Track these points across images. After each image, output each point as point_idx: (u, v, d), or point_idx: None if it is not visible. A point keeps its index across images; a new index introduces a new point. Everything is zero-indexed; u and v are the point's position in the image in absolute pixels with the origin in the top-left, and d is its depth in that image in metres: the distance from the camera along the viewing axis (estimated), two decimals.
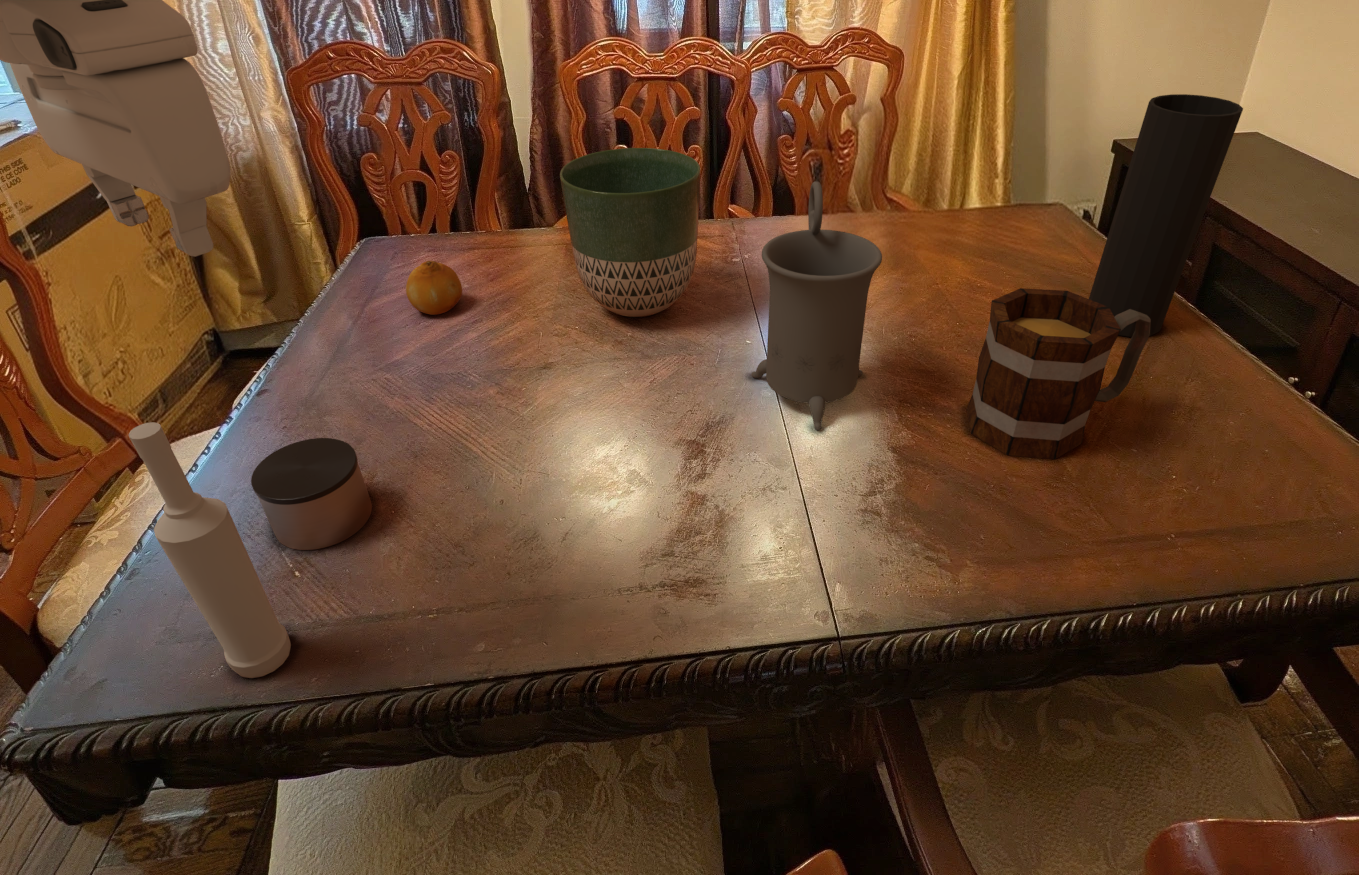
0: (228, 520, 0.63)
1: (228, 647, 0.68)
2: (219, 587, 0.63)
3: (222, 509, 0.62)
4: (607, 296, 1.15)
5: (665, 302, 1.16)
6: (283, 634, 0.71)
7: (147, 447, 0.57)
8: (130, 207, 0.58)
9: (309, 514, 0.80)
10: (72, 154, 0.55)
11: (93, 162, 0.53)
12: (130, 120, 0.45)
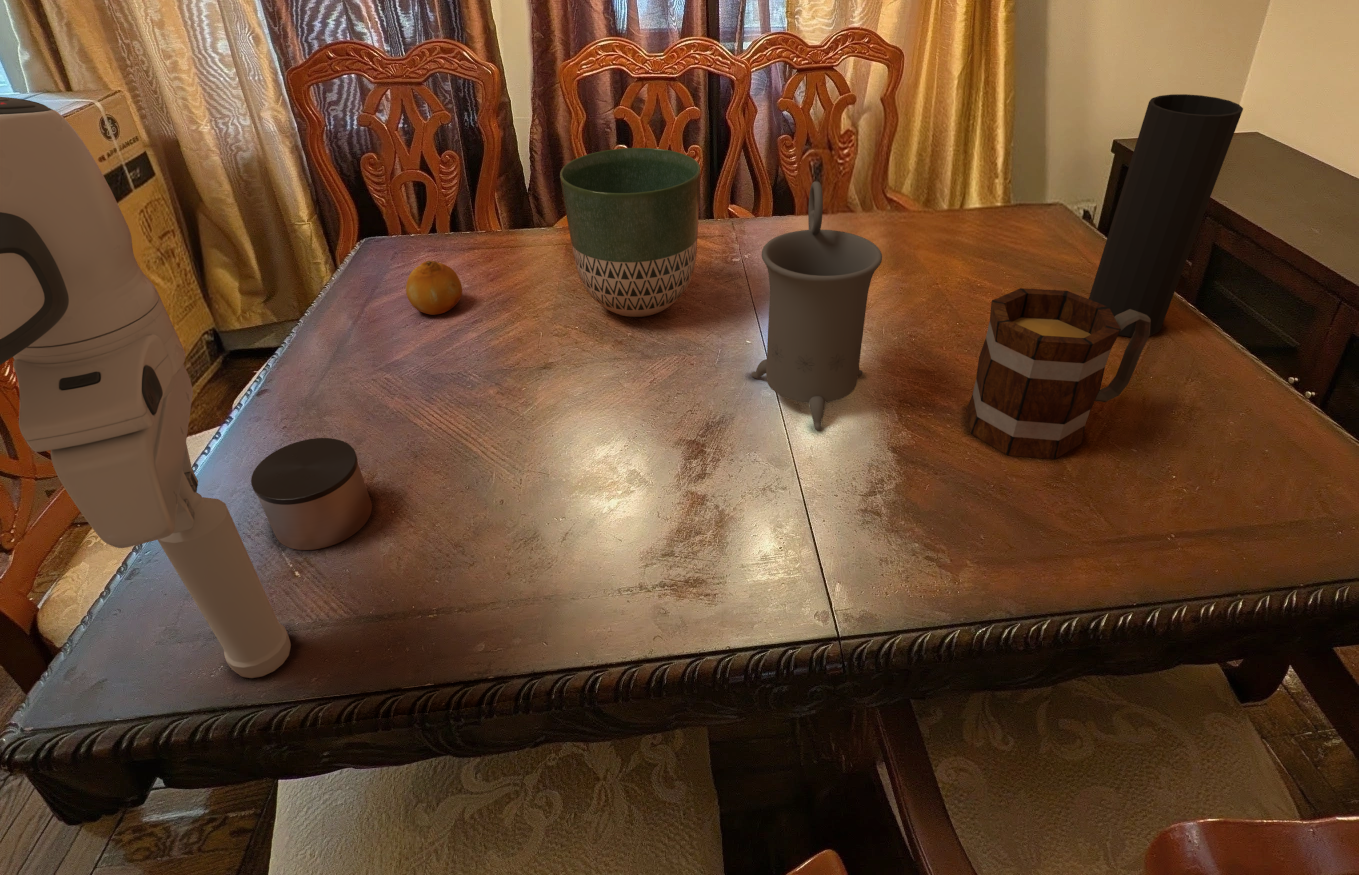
0: (228, 520, 0.63)
1: (228, 647, 0.68)
2: (219, 587, 0.63)
3: (222, 509, 0.62)
4: (607, 296, 1.15)
5: (665, 302, 1.16)
6: (283, 634, 0.71)
7: None
8: None
9: (309, 514, 0.80)
10: None
11: None
12: (67, 491, 0.48)
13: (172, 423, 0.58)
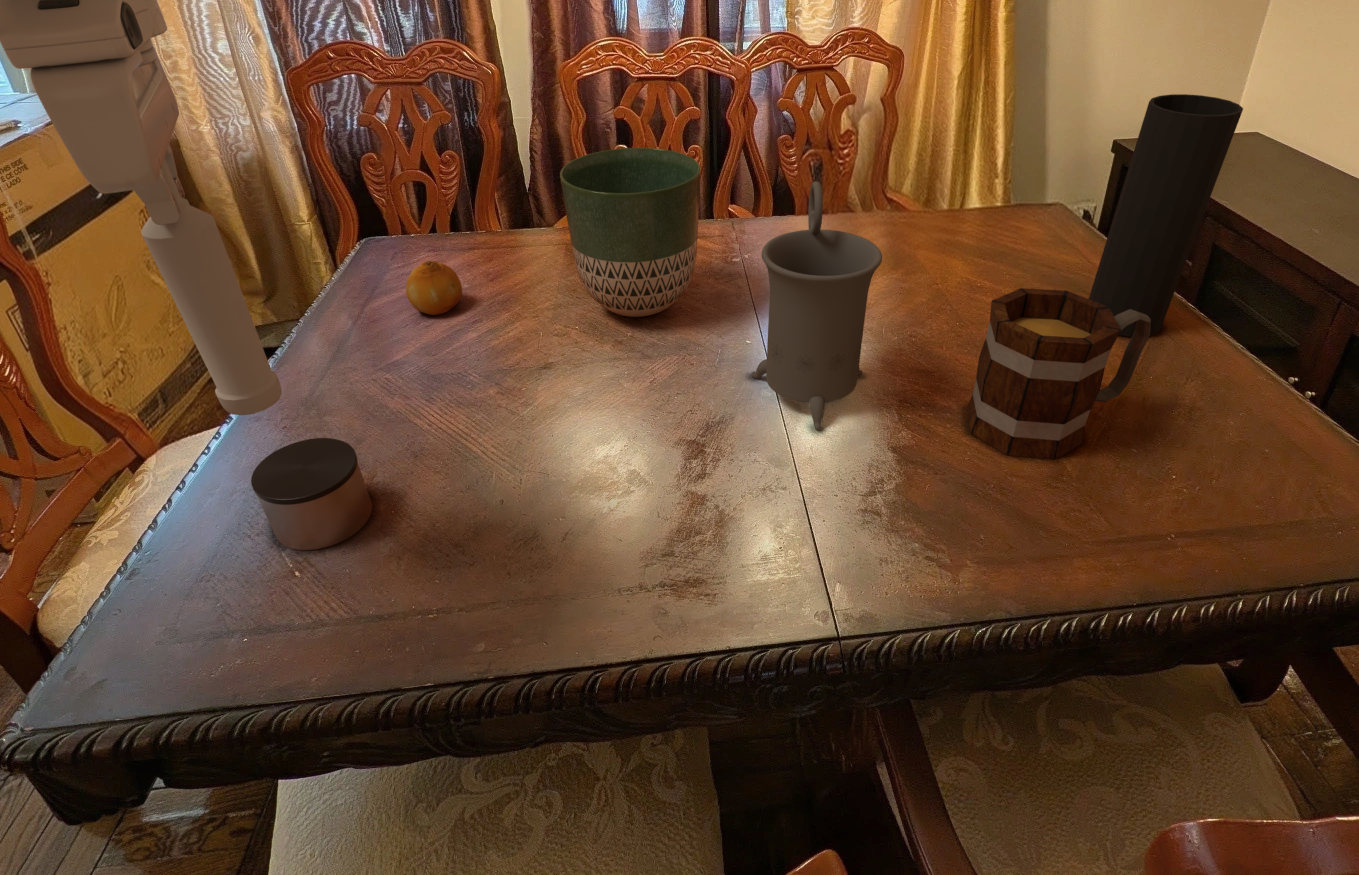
0: (215, 229, 0.63)
1: (218, 375, 0.68)
2: (207, 299, 0.64)
3: (209, 217, 0.63)
4: (607, 296, 1.15)
5: (665, 302, 1.16)
6: (273, 376, 0.71)
7: None
8: None
9: (309, 514, 0.80)
10: None
11: None
12: (47, 113, 0.48)
13: (156, 107, 0.58)
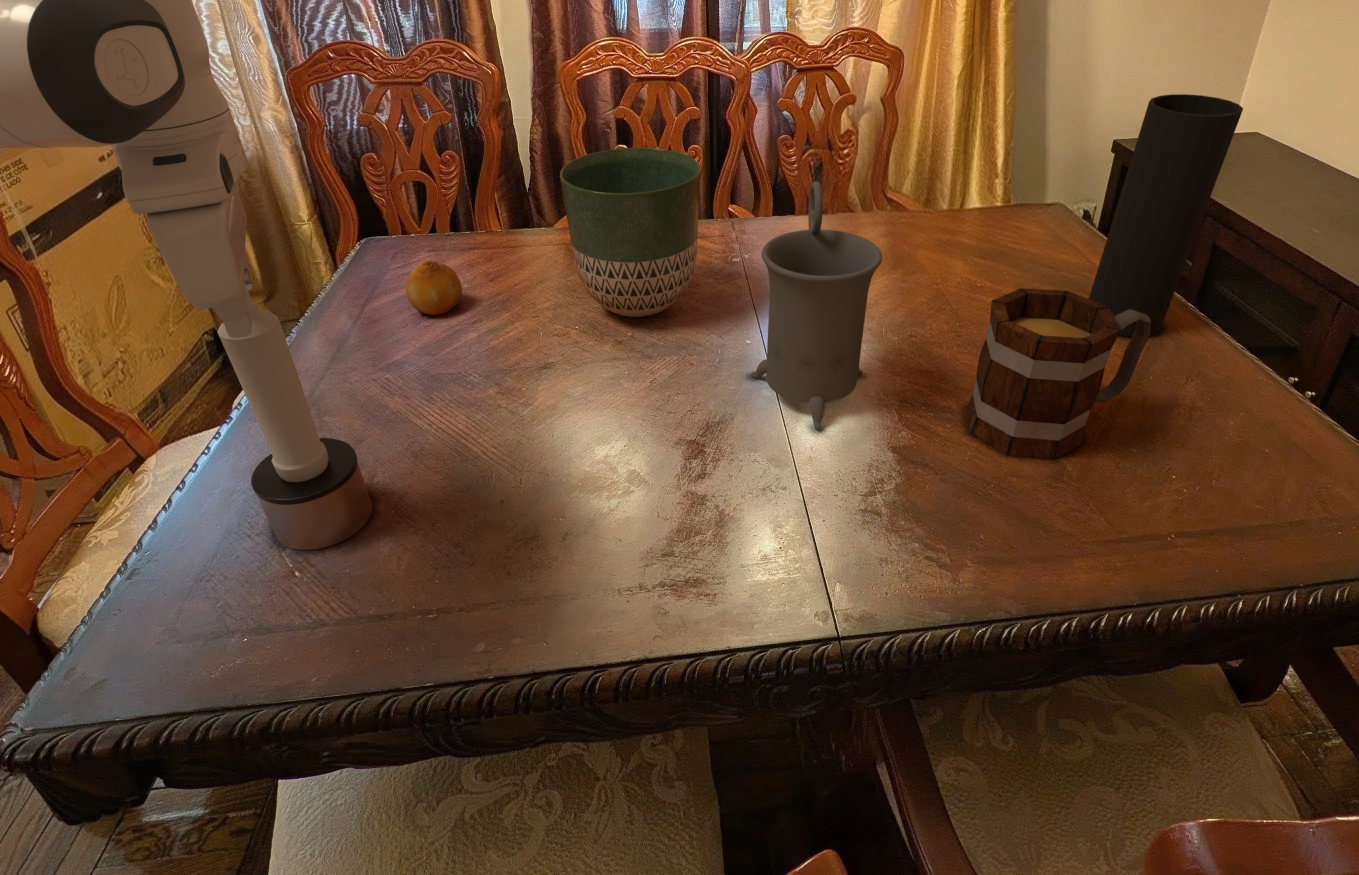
0: (280, 328, 0.73)
1: (277, 449, 0.78)
2: (271, 388, 0.74)
3: (274, 318, 0.73)
4: (607, 296, 1.15)
5: (665, 302, 1.16)
6: (322, 447, 0.82)
7: None
8: None
9: (309, 514, 0.80)
10: None
11: None
12: (159, 249, 0.58)
13: (235, 226, 0.68)
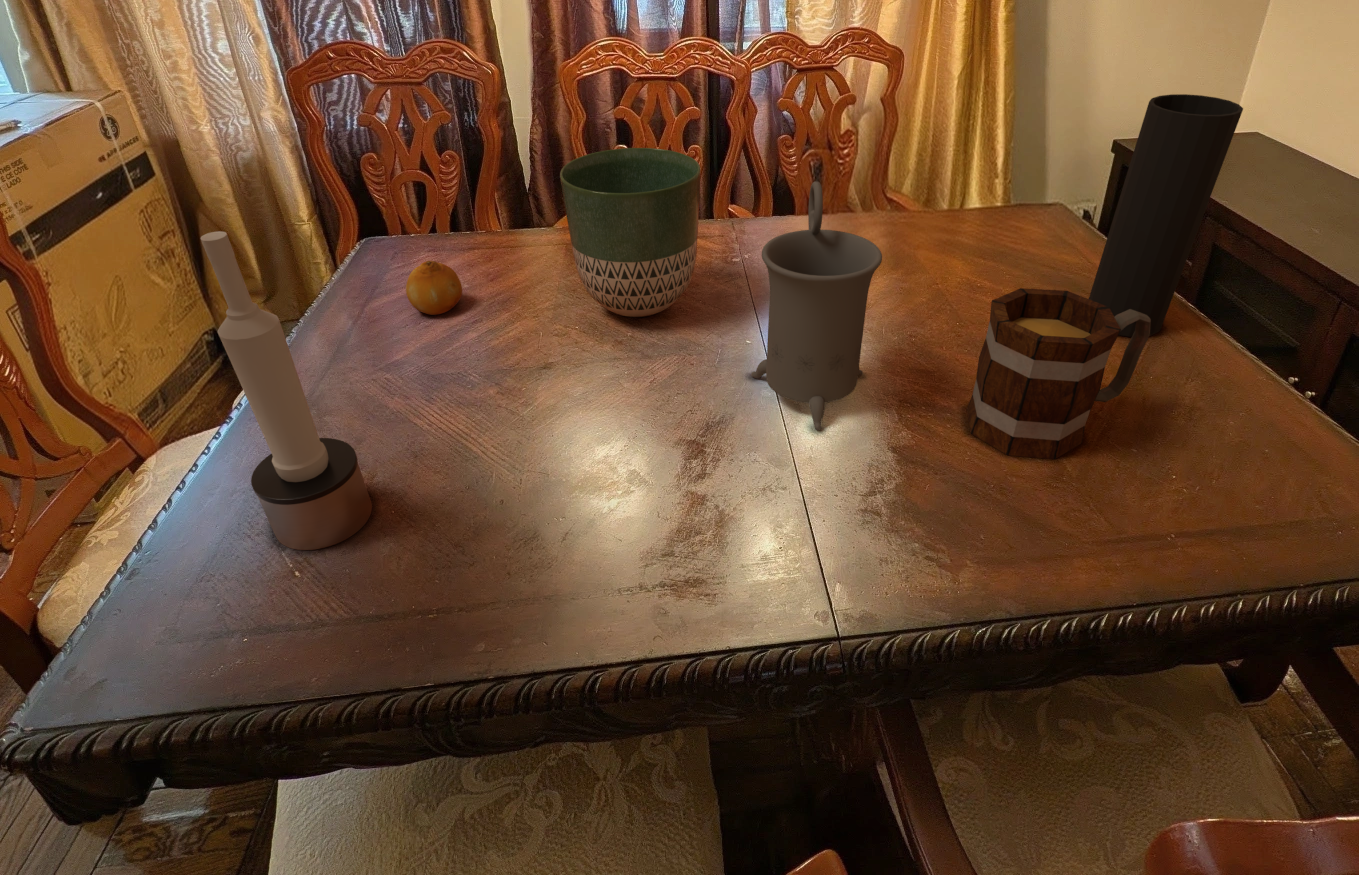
0: (280, 328, 0.73)
1: (277, 449, 0.78)
2: (271, 388, 0.74)
3: (274, 318, 0.73)
4: (607, 296, 1.15)
5: (665, 302, 1.16)
6: (322, 447, 0.82)
7: (215, 249, 0.67)
8: None
9: (309, 514, 0.80)
10: None
11: None
12: None
13: None
